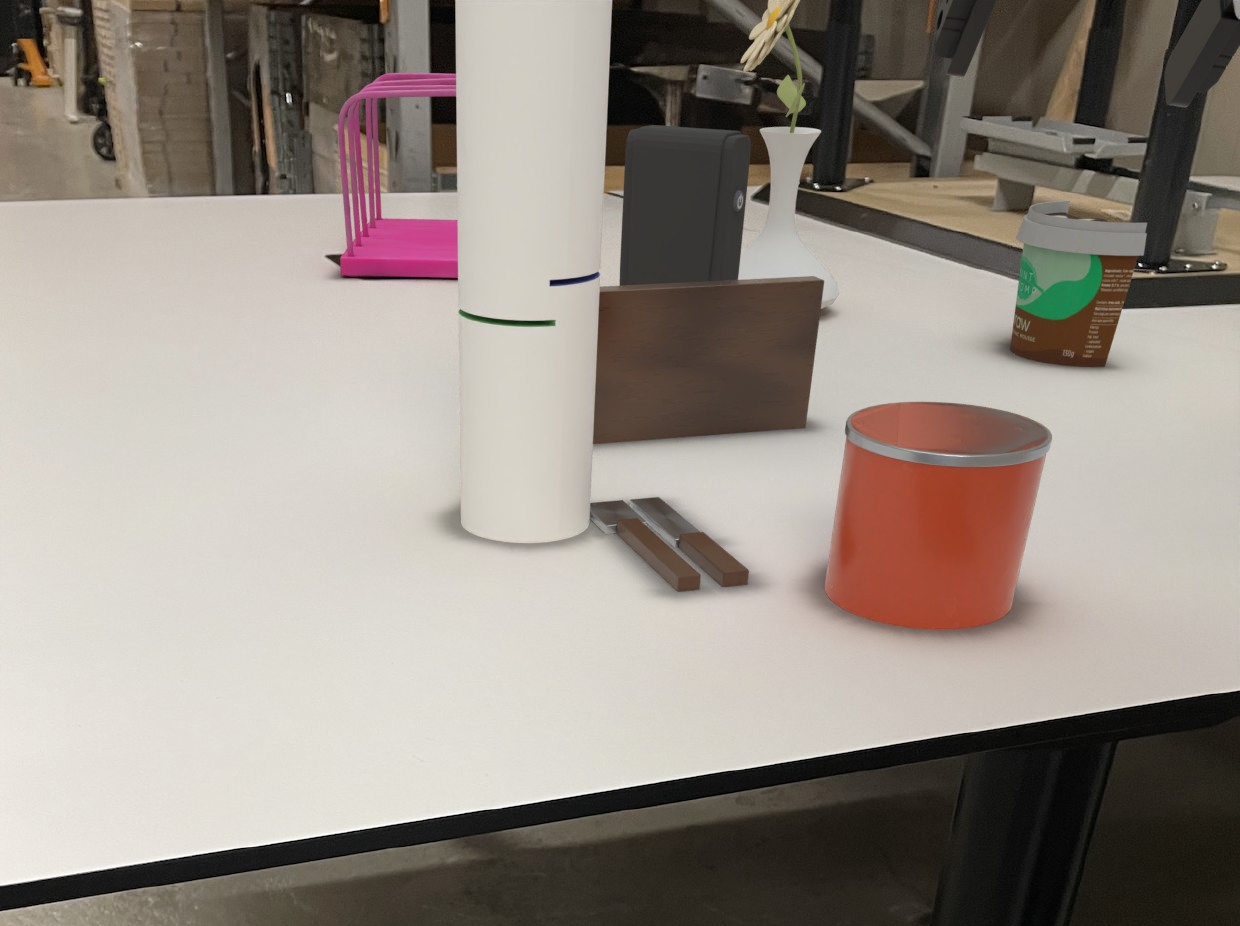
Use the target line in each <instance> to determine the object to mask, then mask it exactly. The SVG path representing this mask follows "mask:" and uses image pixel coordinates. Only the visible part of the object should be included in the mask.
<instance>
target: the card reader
mask: <svg viewBox="0 0 1240 926" xmlns="http://www.w3.org/2000/svg"><path fill="white" fill-rule="evenodd" d="M751 149H752V144H751V138H750V136H749V135H748V134H742V132H741V131H739V130H730V129H715V128H703V127H701V128H699V127H687V126H672V125H671V126H670V125H657V124H650V125H645V126H640V127H639V128H634V129H631V130H629V132H628V134H627V137H626V141H625V152H624V153H625V154H624V174H623V195H622V196H623V197H622V215H621V217H622V218H621V237H620V255H619V256H620V258H619V284H618V286H622V285H643V284H663V283H683V282H703V281H724V280H738V275H739V266H740V256H741V251H742V244H743V234H744V225H745V213H746V204H747V195H748V182H749V173H750V162H751V153H752V152H751Z"/></svg>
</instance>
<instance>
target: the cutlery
mask: <svg viewBox="0 0 1240 926" xmlns="http://www.w3.org/2000/svg"><path fill="white" fill-rule="evenodd" d="M590 520H591V521H592V522H593V523H594V524H595V525H596V526H597V527H598V529H600V530H601V531H602V532H603V533H604V534H605V535H609V534H611V535H612V534H616V535H618V536H619V537H620V538H621V539H622V541H624V542H625V543H626V545H628V547H630V548H631V549H632V550H633V551H634V552H635V553H636V554H637V555H638V556H640V558H641V559H643V560H644V562H646V563H647V564H648V565H649V566H650V567H651V568H652V570H654V571H655V572H656V573H657V574H658V575H659V576H660V577H661V578H663V579H664V580H665V581H666V582H667V584H668V585H670V586H671V587H672V588H673V589H674V590H675V591H676V592H678V593H679V592H688V591H697V590H700V589H701V588H700V587H701V577H702V576H701V574H700V573H699V572H698V570H696V569H695V568H693V566H691V564H689V563H688V562H687V561H686V560H685V559H684V558H683V557H681V556H680V555H679V554H678V553H677V552H676V551H675V550H674V549H672V548H678V549H679V550H680V551H681V552H682V553H684V554H685V555H686V557H688V558H689V559H690V560H692V561H693V562H694V563H695V564H696V565H697V566H698V567H699V568H700V569H702V570H703V571H704V572H705V573H706V574H707V575H708V576H710V578H712V579H713V580H714V581H715V582H716V583H717V584H719V585H720V586H721V587H722V588H727V587H736V586H746V585H748V583H749V575H750V570H749V569H748V568H747V567H746V566H744V565H743V563H741V562H740V561H739V560H737V559H736V558H735V557H734V556H732V555H731V554H730V553H729V552H728V551H727V550H725V549H724V548H723V547H722V546H721V545H720V544H719V543H717V542H716V541H715V540H714V539H712V538H711V537H710V536H709V535H708V534H706V533H705V532H704V531H700V530H699V529H697V527H695V526H694V524H691V522H690V521H688V520H686V518H684V517H683V516H682V515H681V514H680V513H678V512H677V511H676V510H675V509H674V508H673V507H671V506H670V505H669V504H668V503H666V501H664V500H663V499H662V498H661V497H660V496H655V497H645V498H644V497H643V498H635V499H634V498H632V499H629V504H628V503H627V502H625V501H624V500H623V499H619V500H607V501H606V500H605V501H596V502H595V501H594V502H590ZM648 526H649V527H650V528H652V529H650V528H649V527H648ZM652 530H654V531H655V532H656V533H657V534H658V535H657V534H656V533H655V532H654V531H652ZM659 536H661V537H662V539H664V540H665V541H666V542H667V543H668V544H669V545H670V546H669V545H668V544H667V543H666V542H665V541H663V540H662V539H661V538H660V537H659ZM671 546H672V548H671Z"/></svg>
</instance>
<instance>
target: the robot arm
mask: <svg viewBox="0 0 1240 926" xmlns="http://www.w3.org/2000/svg"><path fill="white" fill-rule="evenodd" d="M997 1H998V0H941V2H940V4H939V7H938V10H937V13H936V23H935V25H936V26H935V28H936V29H935V33H936V34H935V46H936V47H935V49H936V50H935V51H936V52H935V53H936V57H937V58H943V75H945V76H950V77H959V78H964V77H965V76H966V74H967V72H968V70H969V67H970V65H971V62H972V60H973V58H974V56H975V53H976V51H977V49H978V46H979V43H980V41H981V40H982V36H983V34H984V32H985V29H986V27H987V24H988V22H989V20H990V17H991V15H992V13H993V11H994V7H995V6H996V3H997ZM1238 49H1240V0H1201V1H1200V2H1199V4H1198V6H1197V7H1196V9H1195V11H1194V13H1193V15H1192V16H1191V18H1190V20H1189V22H1188V24H1187V26H1186V28H1185V29H1184V30H1183V32H1182V35H1181V36H1180V38H1179V40H1178V41H1177V43H1176V45H1175V47H1174V48H1173V50H1172V52H1171V54H1170V56H1169V58H1168V60H1167V63H1166V65H1165V69H1164V90H1165V92H1164V93H1165V103H1166V105H1167V106H1173V107H1179V108H1188V107H1189V106H1190V105H1191V103H1192V102H1193V100H1194V98H1195V97H1196V95H1197V93H1200V94H1206V93H1207V92H1208V91H1209V90H1210V89H1212V88H1213V87H1214V86H1215V85H1216V84H1217V83H1218V82H1219V80H1220V79H1221V78H1222V75H1224V72H1225V71H1226V69H1227V67H1228V66H1229V65H1230V63H1231V61H1232V59H1233V57H1234V56H1235V54H1236V53H1237V51H1238Z"/></svg>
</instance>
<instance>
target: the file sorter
mask: <svg viewBox="0 0 1240 926" xmlns="http://www.w3.org/2000/svg"><path fill="white" fill-rule="evenodd" d="M427 97H428V98H429V97H433V98H434V97H456V73H439V72H438V73H436V72H435V73H433V72H432V73H431V72H430V73H429V72H391V73H390V72H387V73H384V74H382V75H380V76H379V77H377V78H376V79H374V80H373V82H371V83H369V84H367V85H365V86H364V87H363V88H362V89H361V90H360V91H359V92H357V93H355V94H353V95H352V96H350V97H349V98H348V99H347V100H346V101H345V102H344V103H343V105H342V106H341V109H340V112H339V115H338V119H337V132H338V148H339V162H340V163H339V164H340V175H341V177H340V178H341V188H342V201H343V202H342V203H343V212H344V213H343V214H344V227H345V238H346V239H345V240H346V250H345V251H344V252H343V253H342V255H341V256H340V258H339V259H340V260H339V261H340V275H341V276H346V277H349V278H350V277H351V278H382V277H402V278H403V277H407V278H409V277H411V278H450V279H452V278H453V279H458V219H439V218H437V219H435V218H432V219H431V218H430V219H429V218H427V219H426V218H386V217H385V218H383V217H382V197H381V174H380V149H379V124H378V123H379V120H378V101H379V99H389V98H390V99H391V98H427ZM363 100H365V129H366V130H365V132H366V134H365V135H366V160H367V163H366V164H367V184H368V185H367V189H368V205H369V206H368V207H369V208H368V209H369V210H368V212H369V221H368V214H367V202H366V191H365V178H364V167H363V156H362V141H361V128H360V107H361V102H362V101H363ZM346 115H347V122H346V123H347V141H348V155H349V157H348V158H349V170H350V183H351V184H350V185H351V201H352V213H353V215H351V203H350V192H349V180H348V179H349V177H348V165H347V151H346V137H345V136H346V135H345V120H346ZM351 216H353V226H354V227H353V228H354V240H353V229H352V218H351ZM360 219H361V220H360ZM361 229H362V230H361Z"/></svg>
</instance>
